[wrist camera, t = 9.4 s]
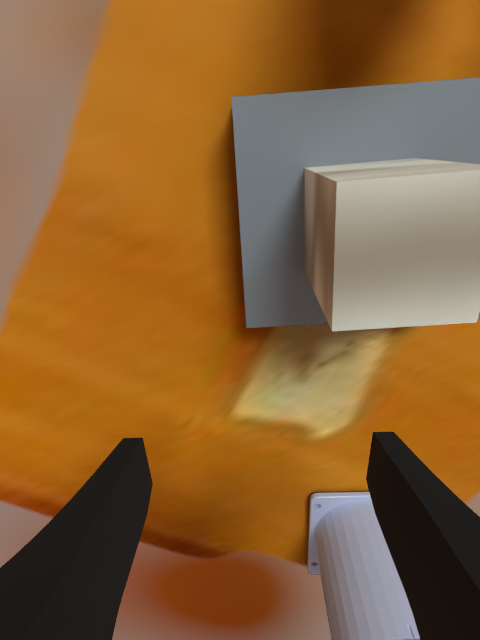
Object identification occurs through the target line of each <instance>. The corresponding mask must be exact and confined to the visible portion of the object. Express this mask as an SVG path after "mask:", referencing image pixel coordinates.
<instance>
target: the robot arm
mask: <svg viewBox="0 0 480 640" xmlns="http://www.w3.org/2000/svg"><path fill="white" fill-rule="evenodd" d="M366 480H367V484H368V488H369V492H334V493H314V494H312V495H311V497H310V513H309V538H308V563H307V568H308V572H309V573H310V574H312V575H321V580H322V585H323V592H324V597H325V603H326V608H327V615H328V621H329V627H330V633H331V639H332V640H480V517H479V516H478V515H477V514H476V513H474V512H473V511H472V510H471V509H470V508H469V507H468V506H467V505H466V504H465V503H463V502H462V501H461V500H460V499H459V498H458V497H457V496H456V495H455V494H454V493H453V492H452V491H451V490H450V489H449V488H448V487H447V486H446V485H445V484H444V483H443V482H442V481H441V480H440V479H439V478H437V477H436V476H435V475H434V474H433V473H432V472H431V471H430V469H429V468H428V467H427V466H426V465H425V464H424V463H423V462H422V461H421V460H420V459H419V458H418V457H417V456H416V455H415V454H414V453H413V452H412V451H411V450H410V449H409V448H408V447H407V446H406V444H405V443H404V442H403V441H402V440H401V439H400V438H399V437H398V436H397V435H396V434H395V433H394V432H373V436H372V443H371V450H370V457H369V464H368V471H367V478H366ZM151 489H152V479H151V474H150V470H149V465H148V461H147V456H146V451H145V447H144V442H143V438H123V439H122V440H121V441H120V443H119V444H118V445H117V446H116V447H115V449H114V450H113V451H112V452H111V454H110V455H109V456H108V457H107V458H106V460H105V461H104V462H103V463H102V464H101V466H100V467H99V468H98V469H97V470H96V471H95V473H94V474H93V475H92V476H91V477H90V478H89V480H88V481H87V482H86V483H85V484H84V485H83V486H82V488H81V489H80V490H79V491H78V492H77V493H76V494H75V496H74V497H73V498H72V499H71V500H70V501H69V502H68V503H67V504H66V505H65V506H64V507H63V508H62V509H61V510H60V512H59V513H58V514H57V515H56V516H55V517H54V518H53V519H52V520H51V521H50V522H49V523H48V524H47V525H46V526H45V527H44V528H43V529H42V530H41V531H40V532H39V533H38V534H37V535H36V536H35V537H34V538H33V539H32V540H31V541H30V542H29V543H28V544H26V545H25V546H24V547H23V548H22V549H21V550H20V551H19V552H18V553H17V554H16V555H15V556H14V557H12V558H11V559H10V560H9V561H8V562H7V563H5V564H4V565H3V566H2V567H1V568H0V640H112V636H113V632H114V627H115V622H116V618H117V614H118V610H119V606H120V603H121V598H122V595H123V592H124V589H125V585H126V582H127V579H128V576H129V572H130V569H131V566H132V563H133V559H134V556H135V553H136V550H137V546H138V543H139V540H140V537H141V533H142V530H143V527H144V523H145V520H146V516H147V511H148V506H149V501H150V495H151Z"/></svg>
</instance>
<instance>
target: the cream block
mask: <svg viewBox="0 0 480 640" xmlns="http://www.w3.org/2000/svg"><path fill="white" fill-rule="evenodd" d="M305 273H306V275H307V277H308V280H309V282H310V284H311V286H312V289H313V291H314V293H315V295H316V297H317V300H318V302H319V304H320V306H321V308H322V311H323V313H324V315H325V317H326V320H327V322H328V324H329V326H330V328H331V331H348V330H363V329H379V328H395V327H411V326H426V325H442V324H458V323H473V322H477V320H478V315H479V311H480V164H472V163H461V162H451V161H440V160H429V159H419V158H412V159H401V160H389V161H378V162H366V163H354V164H343V165H331V166H320V167H308V168H305Z"/></svg>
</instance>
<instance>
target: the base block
mask: <svg viewBox="0 0 480 640" xmlns="http://www.w3.org/2000/svg"><path fill="white" fill-rule="evenodd" d="M231 99H232V114H233V129H234V145H235V160H236V176H237V191H238V206H239V222H240V237H241V252H242V268H243V283H244V299H245V314H246V328H258V327H277V326H296V325H315V324H328V322H327V320H326V317H325V315H324V313H323V311H322V308H321V306H320V304H319V302H318V300H317V297H316V295H315V293H314V291H313V289H312V286H311V284H310V282H309V280H308V277H307V275H306V273H305V168H308V167H320V166H331V165H343V164H354V163H366V162H378V161H389V160H401V159H412V158H419V159H429V160H440V161H451V162H461V163H472V164H480V77H479V78H467V79H454V80H441V81H428V82H415V83H402V84H390V85H377V86H364V87H351V88H338V89H325V90H312V91H300V92H287V93H274V94H261V95H248V96H235V97H231Z"/></svg>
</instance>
